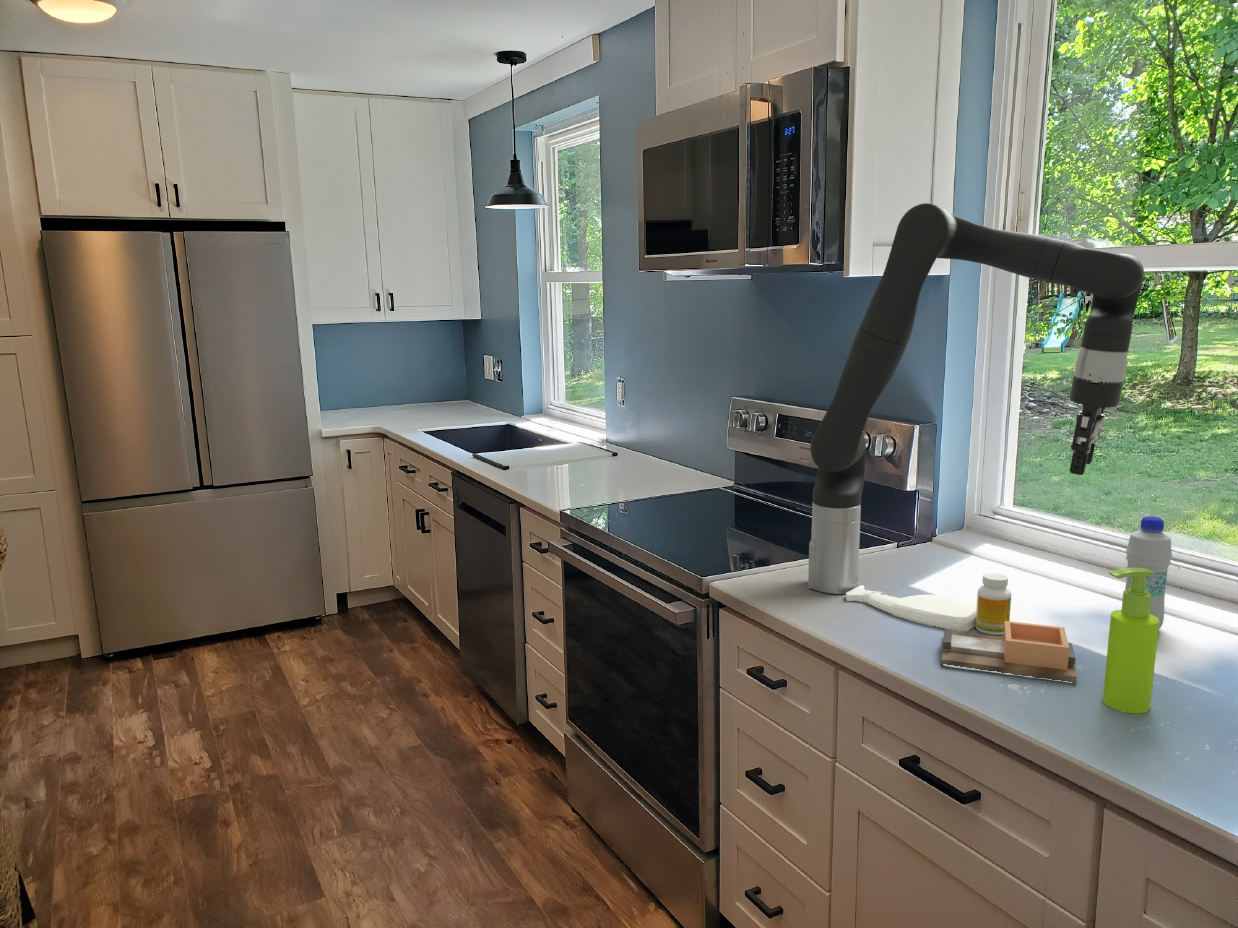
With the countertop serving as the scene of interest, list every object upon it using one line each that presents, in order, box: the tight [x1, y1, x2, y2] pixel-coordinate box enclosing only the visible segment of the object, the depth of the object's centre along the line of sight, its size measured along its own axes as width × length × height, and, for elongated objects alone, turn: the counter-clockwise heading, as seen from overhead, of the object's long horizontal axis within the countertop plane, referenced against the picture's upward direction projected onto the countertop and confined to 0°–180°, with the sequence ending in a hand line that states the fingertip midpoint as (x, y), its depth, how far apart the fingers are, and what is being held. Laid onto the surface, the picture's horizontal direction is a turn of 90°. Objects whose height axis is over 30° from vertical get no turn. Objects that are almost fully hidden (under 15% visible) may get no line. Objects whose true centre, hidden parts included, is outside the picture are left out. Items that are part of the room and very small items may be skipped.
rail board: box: [941, 630, 1078, 684], centre depth 143 cm, size 19×13×1 cm
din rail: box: [942, 629, 1076, 667], centre depth 143 cm, size 19×6×2 cm, turn 68°
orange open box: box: [1002, 621, 1069, 670], centre depth 141 cm, size 9×9×4 cm
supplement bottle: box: [975, 572, 1012, 636], centre depth 155 cm, size 5×5×10 cm
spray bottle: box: [845, 584, 977, 633], centre depth 165 cm, size 3×11×24 cm
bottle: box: [1124, 515, 1173, 631], centre depth 153 cm, size 7×7×20 cm
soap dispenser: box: [1102, 567, 1160, 715], centre depth 126 cm, size 6×7×20 cm
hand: (1080, 468), depth 155 cm, fingers open, 8 cm apart
